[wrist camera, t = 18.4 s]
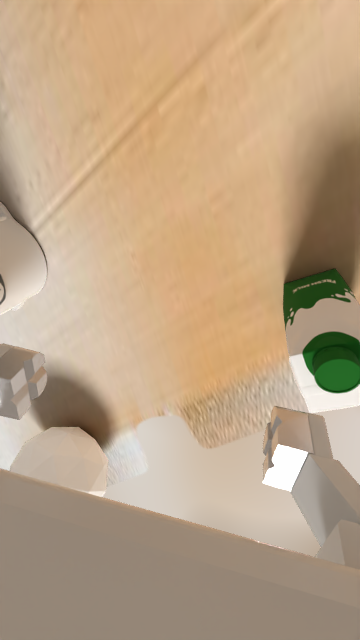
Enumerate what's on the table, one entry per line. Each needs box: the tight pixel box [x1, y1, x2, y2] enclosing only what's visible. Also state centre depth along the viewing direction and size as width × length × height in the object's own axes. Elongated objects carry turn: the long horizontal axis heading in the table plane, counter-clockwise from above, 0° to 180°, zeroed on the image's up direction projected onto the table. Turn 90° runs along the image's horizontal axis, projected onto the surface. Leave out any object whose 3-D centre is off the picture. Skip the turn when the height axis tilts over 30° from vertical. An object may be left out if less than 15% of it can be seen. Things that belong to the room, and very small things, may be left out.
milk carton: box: [283, 269, 360, 413], centre depth 39 cm, size 9×9×20 cm
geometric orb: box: [10, 427, 109, 497], centre depth 68 cm, size 19×20×20 cm
